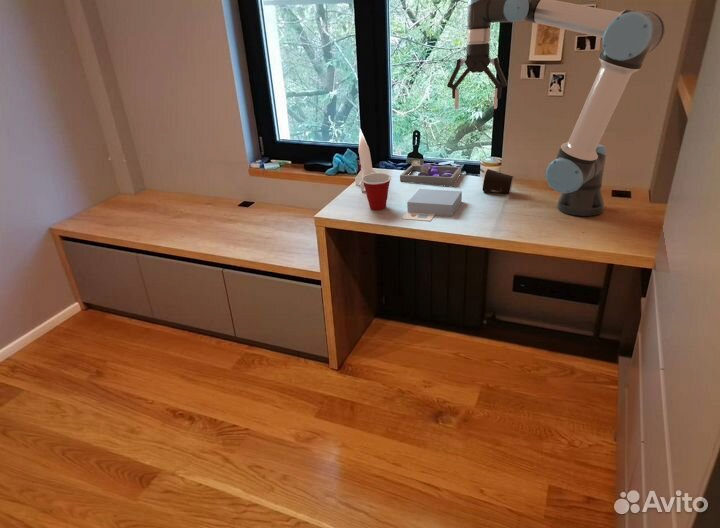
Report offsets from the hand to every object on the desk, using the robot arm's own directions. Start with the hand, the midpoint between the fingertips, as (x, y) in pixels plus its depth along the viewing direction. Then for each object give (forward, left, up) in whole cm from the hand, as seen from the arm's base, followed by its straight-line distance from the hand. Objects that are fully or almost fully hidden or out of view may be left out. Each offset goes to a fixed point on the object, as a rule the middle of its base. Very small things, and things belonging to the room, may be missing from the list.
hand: (475, 108), depth 184 cm
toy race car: (+18, -20, -33) cm, 43 cm away
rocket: (+39, -1, -33) cm, 51 cm away
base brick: (+11, +14, -33) cm, 37 cm away
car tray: (+21, -19, -33) cm, 43 cm away
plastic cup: (+31, +20, -33) cm, 49 cm away
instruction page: (+14, +25, -33) cm, 43 cm away
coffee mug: (-13, -10, -30) cm, 34 cm away
